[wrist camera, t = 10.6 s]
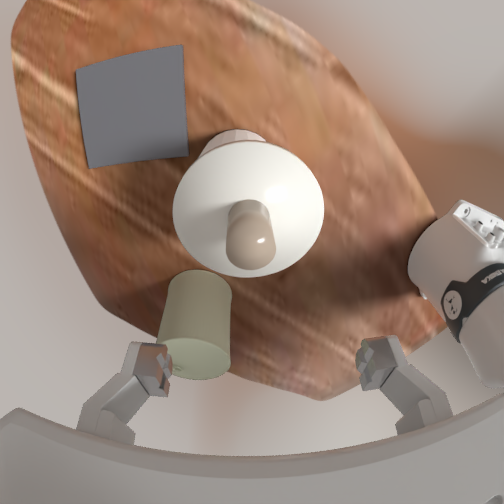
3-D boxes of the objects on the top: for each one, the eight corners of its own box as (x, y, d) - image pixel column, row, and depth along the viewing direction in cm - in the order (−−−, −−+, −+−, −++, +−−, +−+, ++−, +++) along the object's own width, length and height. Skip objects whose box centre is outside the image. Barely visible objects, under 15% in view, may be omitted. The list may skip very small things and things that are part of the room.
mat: (183, 45, 21) (181, 44, 20) (189, 154, 28) (188, 156, 27) (79, 69, 21) (75, 69, 20) (92, 166, 27) (89, 168, 27)
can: (155, 289, 39) (136, 358, 29) (200, 257, 36) (188, 331, 26) (199, 323, 43) (192, 389, 33) (245, 297, 40) (247, 369, 30)
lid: (326, 140, 18) (351, 161, 14) (313, 266, 24) (327, 308, 20) (165, 146, 17) (143, 168, 13) (186, 272, 24) (178, 315, 20)
